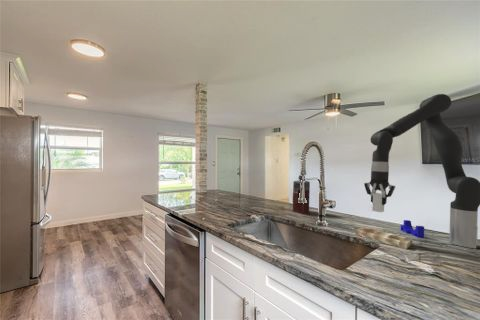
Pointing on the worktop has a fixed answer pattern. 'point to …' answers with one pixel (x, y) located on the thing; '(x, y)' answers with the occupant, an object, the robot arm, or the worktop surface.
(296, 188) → the dark red bottle
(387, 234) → the birch rail
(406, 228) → the cable clip
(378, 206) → the steel peg
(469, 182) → the robot arm
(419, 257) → the worktop surface
